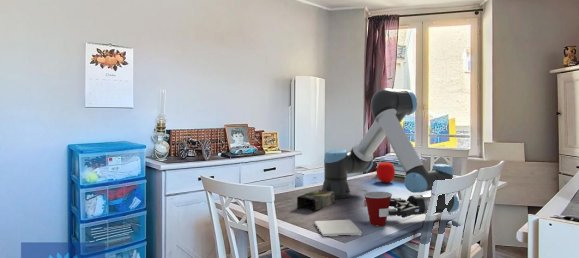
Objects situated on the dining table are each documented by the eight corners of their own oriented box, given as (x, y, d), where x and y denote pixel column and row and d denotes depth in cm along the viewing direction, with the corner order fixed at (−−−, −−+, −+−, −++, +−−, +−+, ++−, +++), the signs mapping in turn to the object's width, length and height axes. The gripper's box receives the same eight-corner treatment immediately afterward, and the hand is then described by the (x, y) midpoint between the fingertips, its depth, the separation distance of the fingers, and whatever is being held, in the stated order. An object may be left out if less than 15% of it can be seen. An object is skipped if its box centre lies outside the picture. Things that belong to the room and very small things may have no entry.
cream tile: (314, 223, 133) (314, 221, 133) (349, 222, 135) (349, 219, 135) (322, 236, 120) (322, 233, 120) (361, 235, 121) (361, 232, 121)
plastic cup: (370, 217, 141) (371, 188, 141) (396, 223, 134) (396, 192, 134) (357, 224, 133) (358, 193, 132) (384, 230, 126) (385, 198, 125)
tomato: (395, 184, 205) (395, 163, 204) (376, 183, 207) (376, 162, 207) (394, 180, 216) (394, 160, 215) (376, 180, 218) (376, 159, 218)
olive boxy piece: (318, 199, 171) (318, 187, 170) (336, 202, 165) (336, 190, 165) (296, 209, 154) (296, 195, 154) (315, 213, 149) (315, 199, 148)
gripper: (440, 224, 125) (387, 228, 121) (403, 205, 150) (357, 208, 145) (441, 203, 125) (387, 207, 120) (403, 188, 149) (357, 190, 145)
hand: (371, 207), depth 133 cm, fingers open, 13 cm apart
